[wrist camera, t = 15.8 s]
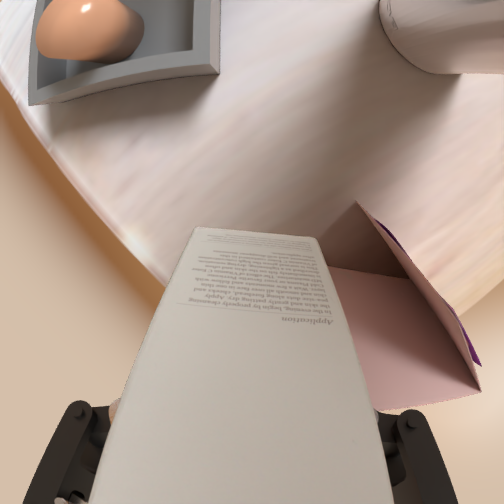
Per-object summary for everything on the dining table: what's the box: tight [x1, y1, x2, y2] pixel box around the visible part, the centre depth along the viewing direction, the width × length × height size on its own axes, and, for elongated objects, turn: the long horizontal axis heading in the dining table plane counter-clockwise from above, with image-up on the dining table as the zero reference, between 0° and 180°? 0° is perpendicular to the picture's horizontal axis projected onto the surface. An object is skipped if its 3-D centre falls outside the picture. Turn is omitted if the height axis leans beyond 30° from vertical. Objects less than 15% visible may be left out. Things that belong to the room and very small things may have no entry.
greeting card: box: [327, 201, 482, 411], centre depth 19 cm, size 11×7×15 cm, turn 44°
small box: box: [88, 227, 394, 504], centre depth 10 cm, size 8×6×13 cm
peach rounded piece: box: [36, 0, 144, 64], centre depth 11 cm, size 5×5×7 cm
